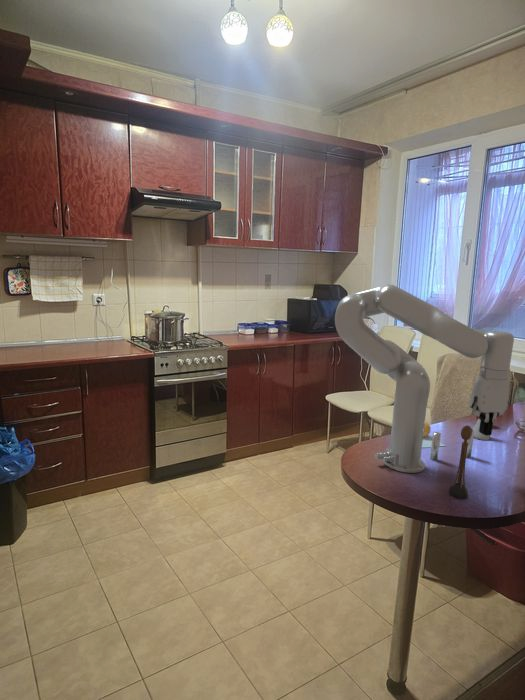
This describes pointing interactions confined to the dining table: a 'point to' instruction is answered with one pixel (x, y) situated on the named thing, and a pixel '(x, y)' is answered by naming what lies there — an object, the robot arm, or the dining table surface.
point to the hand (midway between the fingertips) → (485, 433)
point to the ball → (426, 429)
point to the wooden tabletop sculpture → (461, 467)
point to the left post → (435, 446)
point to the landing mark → (428, 442)
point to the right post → (470, 446)
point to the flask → (477, 433)
